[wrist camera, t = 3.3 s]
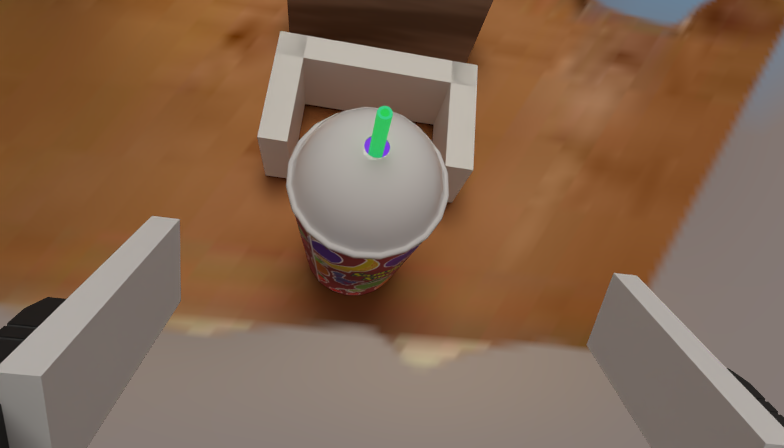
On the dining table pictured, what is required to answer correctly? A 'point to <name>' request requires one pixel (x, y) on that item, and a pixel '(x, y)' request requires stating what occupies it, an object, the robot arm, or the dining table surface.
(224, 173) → the dining table surface
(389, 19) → the backstop wall
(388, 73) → the frame
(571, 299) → the dining table surface
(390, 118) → the smoothie
